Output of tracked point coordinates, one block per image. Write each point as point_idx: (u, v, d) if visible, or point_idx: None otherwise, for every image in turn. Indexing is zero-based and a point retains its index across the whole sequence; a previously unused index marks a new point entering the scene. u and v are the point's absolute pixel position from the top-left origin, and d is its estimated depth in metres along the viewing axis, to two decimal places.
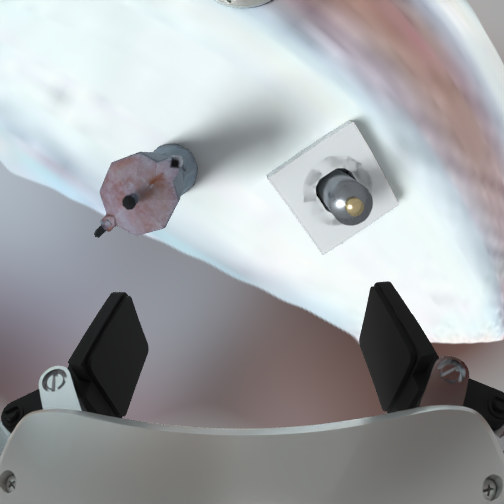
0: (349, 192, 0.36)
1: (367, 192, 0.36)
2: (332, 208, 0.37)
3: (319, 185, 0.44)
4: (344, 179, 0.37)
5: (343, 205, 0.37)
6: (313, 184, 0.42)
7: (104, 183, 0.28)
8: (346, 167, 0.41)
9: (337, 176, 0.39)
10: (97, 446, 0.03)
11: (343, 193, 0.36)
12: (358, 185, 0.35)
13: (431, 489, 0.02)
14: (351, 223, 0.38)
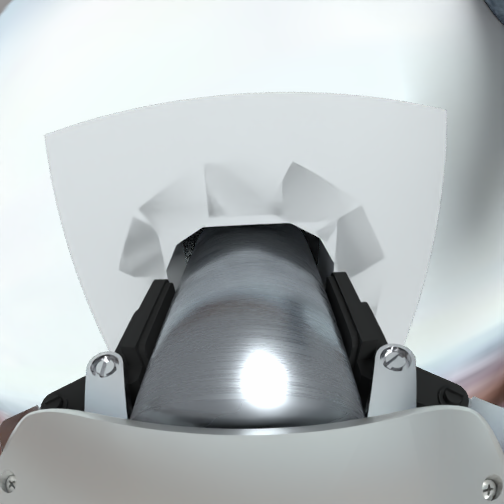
0: None
1: None
2: (305, 406, 0.04)
3: (301, 241, 0.12)
4: None
5: None
6: (333, 235, 0.11)
7: None
8: None
9: None
10: (97, 446, 0.03)
11: None
12: None
13: (431, 489, 0.02)
14: None
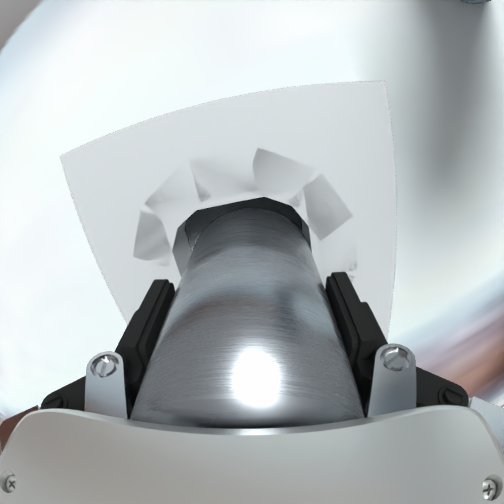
0: None
1: None
2: (305, 406, 0.04)
3: (301, 241, 0.12)
4: None
5: None
6: (302, 202, 0.13)
7: None
8: None
9: None
10: (97, 446, 0.03)
11: None
12: None
13: (431, 489, 0.02)
14: None
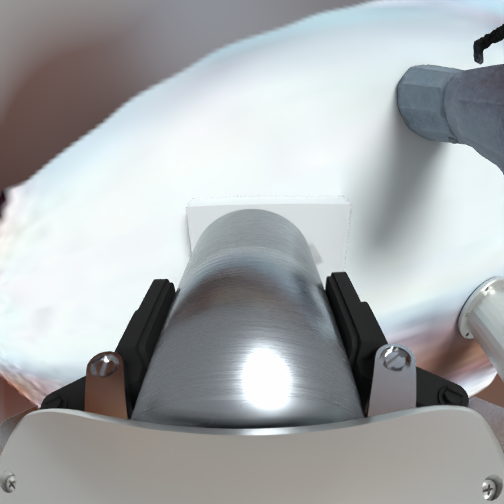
0: None
1: None
2: (304, 407, 0.04)
3: (301, 242, 0.12)
4: None
5: None
6: None
7: None
8: None
9: None
10: (97, 446, 0.03)
11: None
12: None
13: (431, 489, 0.02)
14: None
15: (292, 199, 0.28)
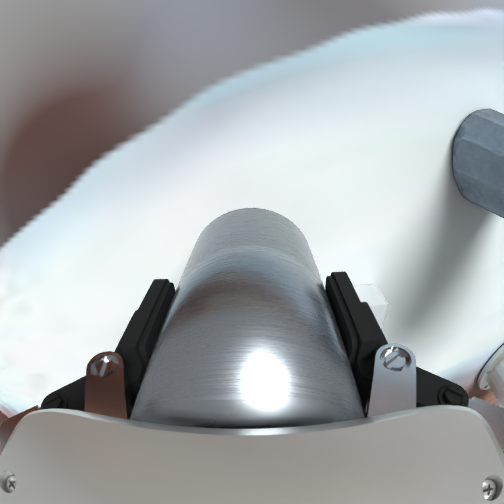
0: None
1: None
2: (305, 407, 0.04)
3: (301, 241, 0.12)
4: None
5: None
6: None
7: None
8: None
9: None
10: (97, 446, 0.03)
11: None
12: None
13: (431, 489, 0.02)
14: None
15: None
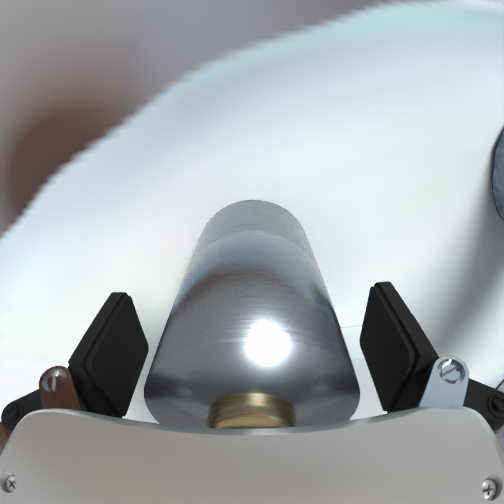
0: (315, 420, 0.07)
1: None
2: (300, 350, 0.06)
3: (298, 229, 0.13)
4: None
5: (276, 393, 0.06)
6: None
7: None
8: None
9: None
10: (97, 446, 0.03)
11: (329, 405, 0.07)
12: None
13: (431, 489, 0.02)
14: (158, 383, 0.06)
15: None
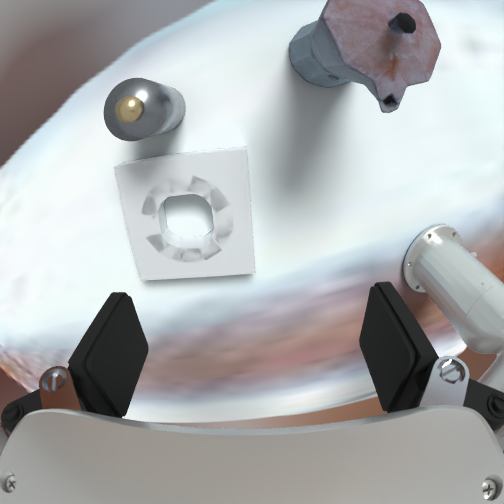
0: (151, 110, 0.22)
1: (138, 136, 0.23)
2: (142, 79, 0.20)
3: (173, 89, 0.28)
4: (169, 115, 0.24)
5: (138, 95, 0.21)
6: (209, 196, 0.33)
7: (428, 18, 0.12)
8: (209, 242, 0.36)
9: (175, 111, 0.26)
10: (97, 446, 0.03)
11: (153, 101, 0.21)
12: (153, 126, 0.22)
13: (431, 489, 0.02)
14: (109, 99, 0.21)
15: (198, 152, 0.32)
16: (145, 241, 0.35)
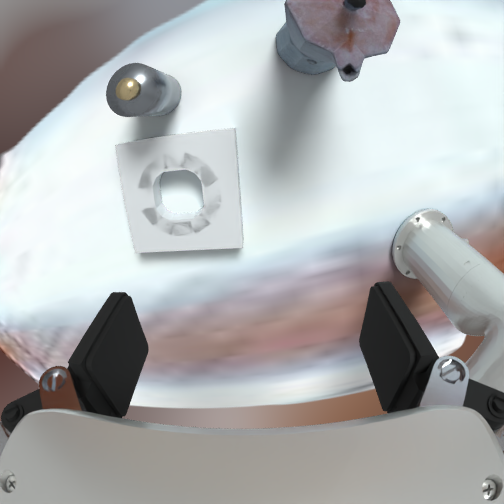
0: (146, 90, 0.24)
1: (135, 112, 0.25)
2: (139, 64, 0.23)
3: (170, 76, 0.30)
4: (163, 96, 0.27)
5: (136, 78, 0.23)
6: (199, 172, 0.35)
7: None
8: (199, 216, 0.38)
9: (169, 94, 0.28)
10: (97, 446, 0.03)
11: (149, 82, 0.24)
12: (148, 104, 0.25)
13: (431, 489, 0.02)
14: (111, 81, 0.23)
15: (191, 132, 0.34)
16: (140, 214, 0.37)
